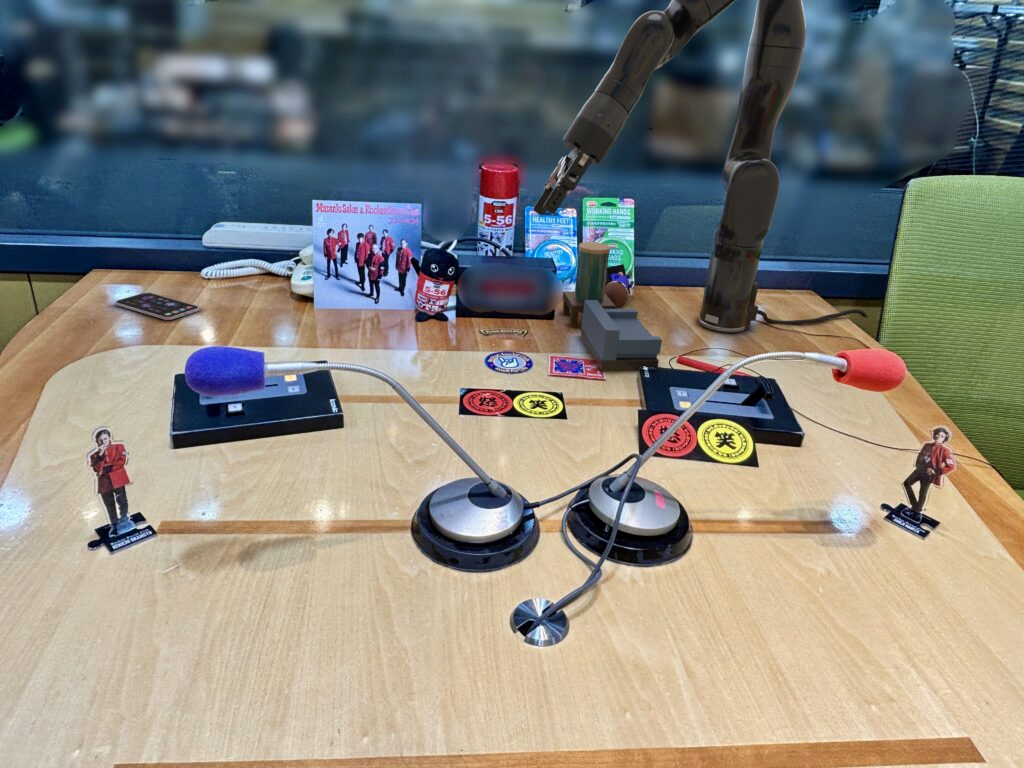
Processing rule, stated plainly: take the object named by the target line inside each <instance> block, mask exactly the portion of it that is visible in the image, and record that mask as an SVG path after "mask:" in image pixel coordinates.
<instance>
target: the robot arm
mask: <svg viewBox="0 0 1024 768" xmlns="http://www.w3.org/2000/svg"><path fill="white" fill-rule="evenodd" d="M736 1H737V0H670V2H669V4H668V6H667V7H666V9H665V10H663V11H661V10H650V11H647V12H645V13H643V14H641V15H640V16H639V17H638V18H637V19H636V20H635V21H634V22H633V23H632V25H631V27H630V29H629V30H628V32H627V34H626V36H625V38H624V39H623V41H622V43H621V45H620V47H619V49H618V52H617V53H616V56H615V57H614V60H613V62H612V64H611V65H610V67H609V69H608V70H607V71H606V73H605V74H604V76H603V77H602V79H601V80H600V82H599V84H598V85H597V86H596V88H595V90H594V92H593V93H592V94H591V96H590V97H589V98H588V99H587V100H586V102H585V103H584V104H583V105H582V108H581V109H580V111H579V112H578V113H577V115H576V117H575V119H574V120H573V122H572V123H571V125H570V126H569V128H567V129H568V130H567V131H566V133H565V134H564V136H563V137H562V143H563V145H564V146H565V148H567V149H568V151H569V153H568V154H567V155H565V156H564V157H563V156H562V157H561V158H560V160H559V161H558V163H557V165H556V167H555V168H554V170H553V171H552V172H551V173H550V175H549V176H550V177H548V179H547V181H546V182H545V183H544V184H543V192H542V193H541V195H540V196H539V197H538V199H537V201H536V203H535V204H534V206H533V208H532V210H533V211H534V212H535V213H536V214H537V215H539V216H543V217H544V216H545V214H547V212H548V213H549V214H551V215H554V214H556V212H557V211H558V209H559V208H560V207H561V205H562V203H563V202H564V200H565V198H566V197H567V196H568V195H570V194H571V193H572V192H573V191H575V189H576V188H577V185H578V184H579V183H580V181H581V179H582V177H583V176H584V174H585V173H586V172H587V170H588V168H589V166H590V165H594V166H598V165H600V164H602V162H603V160H604V159H605V157H606V156H607V154H608V152H609V151H610V150H611V148H612V146H613V145H614V143H615V141H616V140H617V139H618V137H619V135H620V134H621V132H622V130H623V129H624V127H625V124H626V123H627V121H628V119H629V117H630V115H631V114H632V112H633V111H634V109H635V108H636V106H637V104H638V103H639V101H640V99H641V98H642V96H643V93H644V91H645V89H646V86H647V82H648V81H649V79H650V77H651V76H652V74H653V73H654V71H656V70H658V69H660V68H662V67H663V66H664V65H666V64H667V63H668V62H670V60H672V59H673V58H674V57H675V56H677V54H678V53H679V52H680V51H681V50H682V49H683V48H684V47H685V46H686V45H687V44H688V43H689V42H690V41H691V40H692V38H693V37H694V36H695V35H696V34H697V33H698V32H699V31H701V30H702V29H703V28H704V27H705V26H707V25H709V23H711V22H712V21H714V19H716V18H717V17H718V16H720V14H722V13H723V12H724V11H726V10H727V9H728V8H729V7H731V6H732V5H733V4H734V3H735V2H736ZM806 39H807V24H806V15H805V10H804V4H803V0H757V2H756V7H755V14H754V19H753V25H752V29H751V34H750V38H749V42H748V46H747V47H748V48H747V53H746V57H745V63H744V69H743V75H742V81H741V86H740V87H741V88H740V94H739V101H738V109H737V115H736V122H735V127H734V130H733V134H732V138H731V141H730V145H729V148H728V151H727V155H726V157H725V160H724V161H725V162H724V164H723V168H722V171H721V176H720V183H721V188H722V190H723V192H724V194H725V200H724V204H723V209H722V215H721V218H720V219H719V221H718V223H717V224H716V226H715V229H714V235H713V241H712V245H711V251H710V257H709V263H708V269H707V273H706V277H705V284H704V289H703V295H702V299H701V301H702V302H701V307H700V311H699V315H698V320H697V322H698V324H699V325H700V326H701V327H703V328H705V329H708V330H711V331H714V332H719V333H728V334H733V333H734V334H735V333H741V332H743V331H749V330H750V327H751V323H752V322H756V321H757V320H756V319H757V315H760V316H761V317H762V319H763V321H764V322H766V323H769V324H778V325H791V326H793V325H795V326H796V325H804V324H807V325H808V324H815V323H820V322H823V321H825V320H831V319H835V318H839V317H844V316H847V315H851V314H859V315H860V316H861V317H863V318H868V317H869V315H868V314H867V313H866V312H865V311H864V310H862V309H858V308H853V309H847V310H844V311H840V312H836V313H831V314H826V315H823V316H819V317H815V318H808V319H807V318H806V319H796V320H795V319H794V320H779V319H778V320H777V319H773V318H770V317H768V314H767V313H766V312H765V311H763V310H760V309H759V306H758V305H756V300H757V295H758V291H759V284H758V283H757V282H756V280H757V275H758V270H759V265H760V261H761V257H762V251H763V247H764V242H765V237H766V235H767V234H768V232H769V230H770V228H771V225H772V221H773V217H774V213H775V210H776V209H775V208H776V205H777V201H778V197H779V192H780V185H781V177H780V172H779V169H778V168H777V166H776V165H775V164H774V163H773V162H772V161H771V157H772V155H771V154H772V147H773V142H774V137H775V131H776V128H777V125H778V122H779V119H780V117H781V115H782V113H783V111H784V109H785V107H786V105H787V103H788V101H789V100H790V97H791V94H792V92H793V90H794V87H795V85H796V82H797V80H798V75H799V73H800V70H801V69H800V68H801V65H802V64H801V63H802V60H803V56H804V51H805V46H806ZM553 185H555V186H553Z"/></svg>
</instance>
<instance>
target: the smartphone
mask: <svg viewBox="0 0 1024 768" xmlns="http://www.w3.org/2000/svg"><path fill="white" fill-rule="evenodd" d="M115 305H116V306H119V307H122V308H124V309H129V310H132V311H135V312H138V313H141V314H144V315H148V316H151V317H155V318H158V319H162V320H164V321H173V320H174V319H178V318H181V317H184V316H187V315H190V314H193V313H196V312H199V311H200V307H199V306H198V305H195V304H192V303H188V302H185V301H182V300H178V299H174V298H170V297H166V296H163V295H159V294H156V293H153V292H142V293H139V294H135V295H132V296H128V297H124V298H120V299H117V300H116V301H115Z"/></svg>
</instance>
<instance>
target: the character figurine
mask: <svg viewBox="0 0 1024 768" xmlns="http://www.w3.org/2000/svg"><path fill="white" fill-rule="evenodd" d="M632 275H633V271H631V270H629V271H628V273H626V268H625V264H624V263H622V264H617V265H613V266H607V275H606V283H605V294H606V295H607V296H608V297H609V299H610V300H611V301H612V302H613V304H614V305H615V307H620V306H623V305H625V304H626V302H627V301H628V298H629V295H630V294H631V290H630V289H632V288H633V286H634V284H635V281H634V280H629V279H630V278H631V276H632Z"/></svg>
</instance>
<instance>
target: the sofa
mask: <svg viewBox="0 0 1024 768" xmlns="http://www.w3.org/2000/svg"><path fill="white" fill-rule="evenodd" d="M638 315H639V311H638V310H637V309H636V308H615V309H603V307H602V306H601V305H600V303H599V302H598V301H597V300H585V301H584V311H583V313H582V319H581V321H582V322H581V329H580V331H581V332H580V339H581V341H582V342H583V344H584V345H585V347H586V349H587V351H588V352H589V354H590V356H591V357H592V359H593V361H594V362H595V365H597V367H598V369H599V370H600V372H640V371H639V368H640V367H643V366H646V367H654V368H657V369H658V368H659V362H660V360H659V359H658V354H661V349H662V343H663V338H662V337H660V336H659V335H657V336H656V335H652V334H651V332H650V331H649V330H648V329H647V327H645V325H644V324H643V323H642V321H641V320H639V318H638V317H639V316H638Z"/></svg>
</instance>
